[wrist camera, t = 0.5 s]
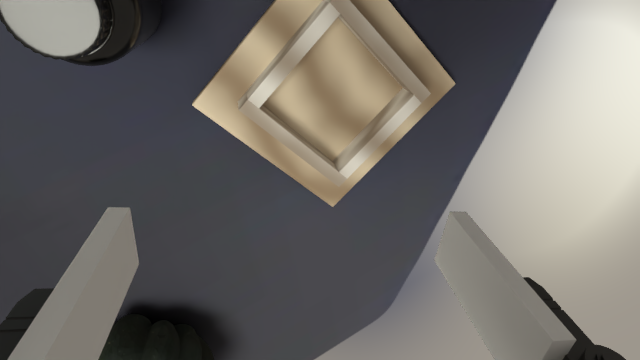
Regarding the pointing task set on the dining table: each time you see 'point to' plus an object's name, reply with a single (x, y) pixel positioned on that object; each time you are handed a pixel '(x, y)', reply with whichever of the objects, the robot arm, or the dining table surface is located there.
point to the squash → (153, 341)
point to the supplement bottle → (81, 27)
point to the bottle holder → (325, 89)
